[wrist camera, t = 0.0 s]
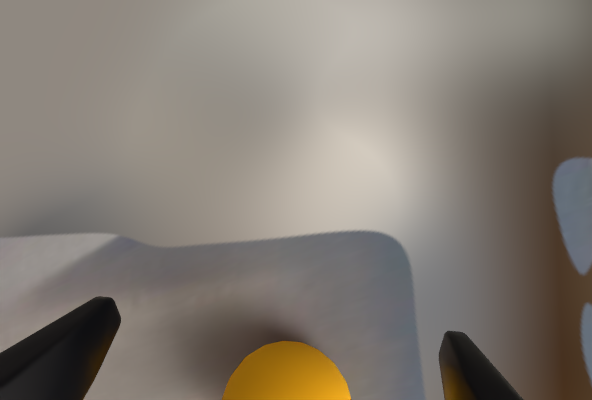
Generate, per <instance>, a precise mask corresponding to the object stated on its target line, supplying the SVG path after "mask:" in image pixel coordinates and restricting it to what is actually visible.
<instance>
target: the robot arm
mask: <svg viewBox="0 0 592 400" xmlns="http://www.w3.org/2000/svg"><path fill="white" fill-rule="evenodd" d="M120 323H121V316H120V314H119V311H118V309H117V306H116V304H115V301H114V300H113V299H112V298H110V297H102V296H99V297H95V298H93V299H92V300H90V301H88V302H86V303H85V304H83V305H81V306H80V307H78V308H76V309H75V310H73V311H71V312H69V313H68V314H66V315H64V316H63V317H61V318H59V319H58V320H56V321H54V322H52V323H51V324H49V325H47V326H46V327H44V328H42V329H41V330H39V331H37V332H35V333H34V334H32V335H30V336H29V337H27V338H25V339H24V340H22V341H20V342H18V343H17V344H15V345H13V346H12V347H10V348H8V349H7V350H5V351H3V352H1V353H0V400H83V399H84V397H85V395H86V393H87V392H88V390H89V388H90V387H91V385H92V383H93V381H94V379H95V377H96V375H97V373H98V371H99V369H100V367H101V365H102V363H103V361H104V359H105V356H106V354H107V352H108V350H109V348H110V346H111V344H112V341H113V339H114V337H115V335H116V333H117V331H118V329H119V326H120ZM439 364H440V370H441V378H442V384H443V390H444V398H445V400H523V398H522V397H521V396H520V395H519V394H518V393H517V392H516V391H515V390H514V388H513V387H512V386H511V385H510V384H509V383H508V381H507V380H506V379H505V378H504V377H503V376H502V375H501V373H500V372H499V371H498V370H497V369H496V368H495V367H494V366H493V364H492V363H490V361H489V360H488V359H487V358H486V357H485V355H484V354H483V353H482V352H481V351H480V350H479V349H478V348H477V346H476V345H475V344H474V343H473V342H472V341H471V340H470V338H469V337H468V336H467V335H466V334H464V333H463V332H456V331H447V332H446V333H445V334H444V338H443V341H442V344H441V347H440V352H439Z"/></svg>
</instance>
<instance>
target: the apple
mask: <svg viewBox="0 0 592 400" xmlns="http://www.w3.org/2000/svg"><path fill="white" fill-rule="evenodd" d="M222 400H351V397H350V394H349V390H348V386H347V383H346V381H345V379H344V378H343V376H342V375H341V373H340V372H339V370H338V368H337V367H336V365H335V364H334V363H333V362H332V361H331V360H330V359H329V358H328V357H326V356H325V355H324V354H323V353H322V352H320V351H319V350H318V349H316V348H313V347H311V346H309V345H307V344H304V343H302V342H292V341H280V342H275V343H271V344H266V345H264V346H262V347H261V348H259V349H257V350H256V351H254V352H253V353H251V354H249V355H248V356H246V357H245V358H244V359H243V361H242V362H241V363H240V365H239V366H238V367H237V369H236V370H235V371H234V372H233V374H232V375H231V377H230V379H229V381H228V383H227V386H226V389H225V392H224V395H223V397H222Z"/></svg>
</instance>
